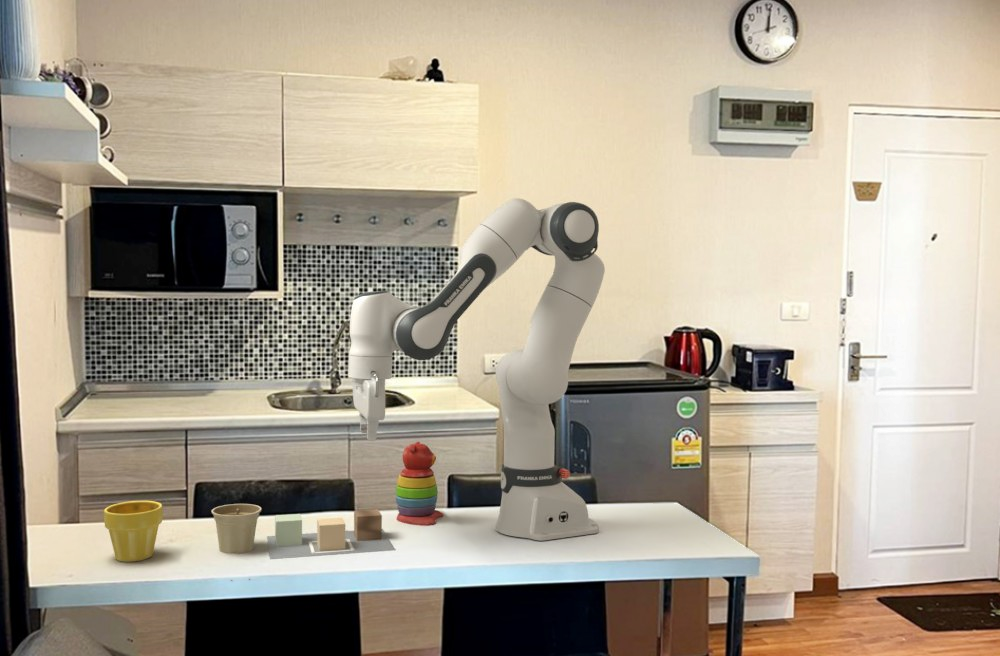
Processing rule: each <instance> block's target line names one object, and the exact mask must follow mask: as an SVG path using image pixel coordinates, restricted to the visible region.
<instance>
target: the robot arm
mask: <svg viewBox="0 0 1000 656" xmlns="http://www.w3.org/2000/svg"><path fill="white" fill-rule="evenodd" d="M598 219H599V218H598V216H597V215H596V213H595V211H594V210H593V209H592V208H591V207H589V206H588V205H586V204H584V203H581V202H576V201H568V202H566V203H565V202H563V203H556V204H554V205H552V206H549V207H547V208H546V207H545V208H542V209H538V208H536V207H535V206H534V205H533V204H532V203H531V202H529V201H527V200H525V199H524V198H520V197H519V198H518V197H517V198H511V199H509V200H508V201H506V202H504V203H503V204H502V205H501V206H499V207H497V208H496V209H495V210H494V211H493V212H491V213H490V214H489V215H488V216H487V217H485V218H484V220H482V221H481V223H479V225H478V226H477V227H476V228H475V229H474V230H472V233H470V234H469V236H468V237H467V239H466V241H464V244H462V245H461V246H462V247H460V250H459V251H460V252H459V261H460V262H459V267H458V269H457V271H456V273H455V274H454V276H453V277H452V278H451V279H450V280H449V281H448V282H447V283H446V285H445V286H444V287H443V288H442V289H441V290H440V291H439V293H438V294H437V295H436V296H435V297H434V298H433V299H432V300H431V301H430V302H429V303H428V304H426V305H424V306H422V307H416V306H413V305H412V304H409V303H407V302H404V301H403V300H402V299H400V298H397V296H395V295H393V294H392V293H391V292H390V291H389V290H376V291H375V290H374V291H369V292H367V291H366V292H365V293H364V292H363V293H361V294H359V295H357V296H356V297H355V298H354V299H353V302H352V305H351V310H350V320H349V337H350V349H349V351H348V368H347V369H348V370H347V371H348V372H347V374H348V375H347V376H348V378H349V379H352V380H351V381H352V383H351V384H352V385H351V386H352V398H353V399H352V400H353V406H354V408H355V409H356V410H357V411H358V412H359V413H358V417H359V424H360V425H359V432H361V433H362V434H366V439H367V440H368V441H369V442H374V441H376V440H377V437H378V436H377V432H378V430H379V429H378V428H379V424H380V423H379V422H380V421H384V419H385V417H386V387H385V386H386V380H390V379H391V378H392V377H393V376H392V374H393V373H392V371H393V370H392V368H393V352H394V351H401V352H403V353H404V354H405V355H407V356H408V357H409V358H411V359H414V360H417V361H426V360H431V359H433V358H435V357H436V356H439V354H441V353H442V351H444V349H445V347H446V346H447V344H448V342H449V338H450V335H451V333H452V330H453V328H454V326H455V324H456V323H457V321H458V320H459V319H460V318H461V316H462V315H463V314H464V313H465V312H466V311H467V309H469V307H470V306H471V305H472V304H473V303H474V301H475V300H476V299H477V298H478V297H479V295H481V293H482V292H484V291H485V289H486V288H488V287H489V286H490V285H491V284H493V283H494V282H495V281H497V280H498V279H499V278H500V277H501V276H503V274H504V273H506V272H507V271H508V270H509V269H511V267H512V266H513V265H514V264H515V263H516V262H517V261H518V260H519V259H520V258H521V256H523V254H524V253H525V252H526V251H527V250H529V249H530V248H532V249H534V250H535V251H537V252H539V253H541V254H543V255H546V256H554V269H553V273H552V275H551V277H550V279H549V280H548V282H547V284H546V285H545V288H544V291H543V293H542V294H541V297H540V298H539V300H538V302H537V305H536V306H535V309H534V311H533V313H532V315H531V317H530V327H529V331H528V334H527V339H526V342H525V346H524V348H523V349H515V350H512V351H510V352H508V353H506V354H505V355H503V356H502V357H501V358H500V359H499V361H498V362H497V364H496V368H495V379H496V380H497V381H496V382H497V386H498V394H499V402H500V409H501V415H502V425H503V464H501V472H500V488H501V501H500V508H499V512H498V513H499V514H498V517H497V520H496V521H497V522H496V524H495V530H496V531H497V532H498V533H500V534H502V535H507V536H510V537H515V538H516V537H517V538H524V539H529V540H535V541H549V540H557V539H563V538H564V539H565V538H570V537H579V536H584V535H592V534H598V533H599V531H600V528H599V525H598V524H599V523H597V522H596V521H594V520H593V519H592V518H590V517H589V513H588V512H589V511H588V507H587V503H586V501H585V500H584V498H582V496H580V495H579V494H577V492H575V491H574V490H573V489H571V488H570V487H569V486H568V485H566V484H565V483H564V482H563V479H564V480H568V479H569V478H570V477H571V473H570V471H569V470H568V469H566V468H562V467H559V466H558V465H556V464H555V435H556V434H555V433H556V431H555V427H554V424H553V422H552V417H551V412H550V407H549V405H551V404H553V403H556V402H558V401H559V400H560V399H561V398H562V397H563V396H564V395H565V393H566V392H567V389H568V387H569V376H568V375H569V374H568V373H569V368H570V365H571V362H572V358H573V354H574V350H575V346H576V343H577V341H578V338H579V336H580V334H581V332H582V329H583V327H584V325H585V323H586V321H587V318H589V314H590V313H591V310H592V308H593V307H594V304H595V302H596V299H597V297H598V296H599V295H598V294H599V292H600V289H601V286H602V283H603V279H604V275H605V271H606V270H605V264H604V261H603V260H602V259H601V257H599V256H598V255H597V254H596V252H597V251H598V247H599V245H598V243H599V242H598V238H599V230H600V229H599V228H600V225H599V220H598Z"/></svg>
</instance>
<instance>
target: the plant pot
mask: <svg viewBox="0 0 1000 656" xmlns="http://www.w3.org/2000/svg"><path fill="white" fill-rule="evenodd" d="M103 518H104V519H103V521H104V527H105V529H106V530H108V533H109V536H110V541H111V545H112V548H113V553H114V556H115V560H117V561H118V562H122V563H123V562H127V563H130V562H132V563H133V562H139V561H144V560H148V559H150V558H151V557H152V556H153V555H154V552H155V551H154V550H155V546H156V545H155V544H156V542H157V535H158V529H159V526H160V524H162V523H163V504H162V503H161V502H159V501H158V502H157V501H152V500H133V501H132V500H131V501H123V502H118V503H115V504H111V505H109V506H107V507H106V508H104V510H103Z"/></svg>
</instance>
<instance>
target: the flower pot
mask: <svg viewBox="0 0 1000 656" xmlns="http://www.w3.org/2000/svg"><path fill="white" fill-rule="evenodd" d="M261 512H262V507H261V506H259V505H256V504H251V503H233V504H224V505H219V506H216V507H214V508H213V509H211V514H212V515H213V519H214V522H215V526H216V534H217V541H218V542H217V543H218V549H219V552H221V553H223V554H230V555H232V554H235V555H237V554H244V553H247V552H250V551H252V550H253V549H254V544H255V536H256V529H257V524H258V519H259V517H260V513H261Z"/></svg>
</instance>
